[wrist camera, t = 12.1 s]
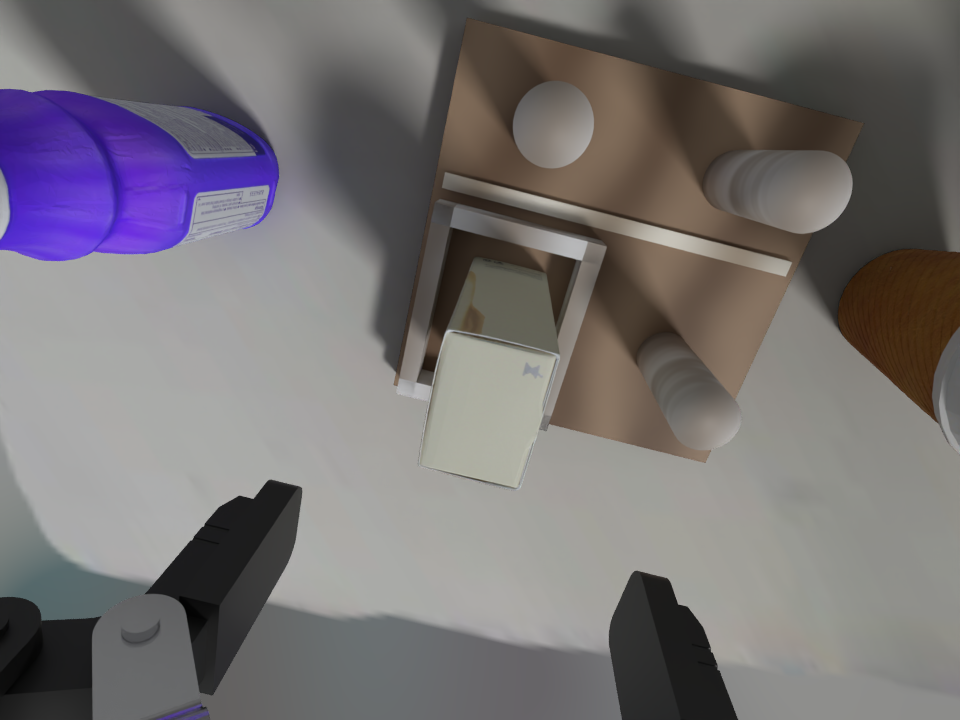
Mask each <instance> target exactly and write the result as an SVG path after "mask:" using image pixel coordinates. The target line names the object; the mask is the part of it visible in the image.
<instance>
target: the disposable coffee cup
mask: <svg viewBox="0 0 960 720" xmlns="http://www.w3.org/2000/svg"><path fill="white" fill-rule="evenodd" d="M838 321H839V326H840V329H841V332H842V334H843V336H844V337H845V338H846V340H847V341H848V342H849V343H850V344H851V345H852V346H853V347H854V348H856V349H857V350H858V351H859V352H860V353H861V354H862V355H863V356H864V357H865V358H867V359H868V360H869V361H870V362H871V363H872V364H873V365H874V366H875V367H876V368H878V369H879V370H880V371H881V372H882V373H883V374H884V375H885V376H886V377H888V378H889V379H890V380H891V381H892V382H893V383H894V384H895V385H896V386H897V387H898V388H899V389H900V390H901V391H902V392H904V393H905V394H906V395H907V396H908V397H909V398H910V399H911V400H912V401H913V402H914V403H915V404H917V405H918V406H919V407H920V408H921V409H922V410H923V411H924V412H926V413H927V414H928V415H929V416H930V417H931V418H932V419H934V420H935V421H936V422H937V423H938V424H939V425H940V428H941V430H942V432H943V434H944V436H945V438H946V440H947V442H948V443H949V444H950V445H951V446H952V447H953V449H954V450H955V451H956V452H957V453H958V454H959V455H960V252H947V251H935V250H922V249H902V250H897V251H893V252H890V253H887V254H884V255H882V256H880V257H878V258H876V259H874V260H872V261H871V262H869V263H868V264H867V265H865V266H864V267H863V268H862V269H860V270H859V271H858V272H857V274H856V275H855V276H854V277H853V278H852V279H851V280H850V282H849V283H848V285H847V286H846V288H845V290H844V292H843V295H842V297H841V299H840V304H839V309H838Z"/></svg>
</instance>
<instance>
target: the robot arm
mask: <svg viewBox="0 0 960 720" xmlns="http://www.w3.org/2000/svg"><path fill="white" fill-rule="evenodd" d="M301 498H302V488H301V487H299V486H295V485H291V484H287V483H283V482H279V481H275V480H268V481H267V482H266V484H265V485H264V486H263V487H262V489H261V490H260V491H259V493H258V494H257V495H256V496H255V498H254V499H251V498H247V497H243V496H238V497H236V498H234V499H233V500H231V501H229V502H227V503H226V504H224V505H222V506H220V507H219V508H218V509H217V510H216V511H215V512H214V514H213V515H212V516H211V517H210V518H209V519H208V521H207V522H206V523H205V526H204V527H202V528H201V529H200V530H199V531H198V532H197V534H196V535H195V536H194V538H193V540H192V541H190V542H189V543H188V544H187V545H186V547H185V548H184V549H183V550H182V551H181V552H180V554H179V555H178V556H177V557H176V558H175V560H174V561H173V562H172V563H171V564H170V565H169V567H168V568H167V569H166V570H165V571H164V572H163V574H162V575H161V576H160V577H159V578H158V580H157V581H156V582H155V583H154V584H153V585H152V587H151V588H150V589H149V590H148V591H147V592H146V593H145V594H144V595H139V596H135V597H132V598H129V599H127V600H124V601H122V602H120V603H118V604H117V605H115V606H114V607H112V608H111V609H109V610H108V611H107V612H106V613H105V614H104V615H103V616H101V617H96V618H88V619H67V620H46V621H41V613H40V610H39V609H38V607H37V606H36V605H35V604H34V603H33V602H31V601H29V600H26V599H22V598H16V597H2V598H0V720H210V716H209V713H208V710H207V708H206V707H202V703H201V699H200V693H205V694H209V695H213V694H214V692H215V690H216V689H217V687H218V685H219V684H220V682H221V680H222V678H223V677H224V675H225V673H226V671H227V669H228V668H229V666H230V664H231V662H232V661H233V659H234V657H235V655H236V654H237V652H238V650H239V648H240V646H241V645H242V643H243V641H244V639H245V638H246V636H247V634H248V632H249V631H250V629H251V627H252V625H253V624H254V622H255V620H256V618H257V617H258V615H259V613H260V611H261V610H262V608H263V606H264V604H265V603H266V601H267V599H268V597H269V596H270V594H271V592H272V590H273V588H274V587H275V585H276V583H277V581H278V580H279V578H280V576H281V574H282V573H283V571H284V569H285V567H286V565H287V563H288V561H289V559H290V557H291V554H292V551H293V548H294V544H295V540H296V534H297V527H298V520H299V512H300V505H301ZM609 647H610V653H611V659H612V664H613V670H614V676H615V682H616V687H617V693H618V699H619V704H620V710H621V715H622V720H738V719H737V716H736V713H735V711H734V708H733V705H732V703H731V700H730V697H729V695H728V692H727V690H726V687H725V684H724V682H723V679H722V676H721V673H720V671H719V670H717V667H718V666H717V663H716V660H715V658H714V655H713V653H711V647H710V644H709V642H708V639H707V636H706V634H705V631H704V628H703V627H702V625H701V624H700V623H699V621H698V620H697V619H696V617H695V616H694V615H693V613H692V612H691V611H690V609H689V608H688V607H686V606H682V605H678V603H677V600H676V597H675V594H674V591H673V588H672V585H671V583H670V581H669V580H668V579H667V578H664V577H660V576H656V575H652V574H648V573H644V572H640V571H634V572H633V573H632V575H631V577H630V579H629V581H628V583H627V585H626V588H625V590H624V592H623V594H622V597H621V599H620V601H619V603H618V605H617V608H616V610H615V612H614V614H613V617H612V620H611V624H610V630H609ZM199 692H200V693H199Z"/></svg>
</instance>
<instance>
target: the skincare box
mask: <svg viewBox="0 0 960 720" xmlns="http://www.w3.org/2000/svg"><path fill="white" fill-rule="evenodd" d="M559 360H560V352H559V345H558V340H557V333H556V328H555V322H554V316H553V310H552V304H551V298H550V293H549V286H548V280H547V275H546V274H545V273H543V272H540V271H536V270H532V269H529V268H525V267H521V266H518V265H514V264H510V263H506V262H501V261H497V260H492V259H487V258H482V257H475V258H474V259H473V262H472V264H471V267H470V270H469V272H468V275H467V278H466V280H465V283H464V286H463V288H462V291H461V293H460V296H459V299H458V302H457V304H456V307H455V309H454V312H453V314H452V317H451V319H450V322H449V324H448V327H447V329H446V331H445V333H444V337H443V341H442V344H441V348H440V352H439V355H438V359H437V363H436V367H435V372H434V376H433V381H432V386H431V390H430V395H429V401H428V406H427V411H426V416H425V422H424V428H423V434H422V440H421V446H420V453H419V459H418V466H419V467H421V468H425V469H429V470H433V471H437V472H440V473H444V474H448V475H452V476H455V477H459V478H462V479H466V480H471V481H475V482H479V483H483V484H486V485H490V486H495V487H499V488H503V489H507V490H511V491H516V490H518V489H520V488H521V486H522V482H523V479H524V476H525V473H526V470H527V467H528V463H529V460H530V457H531V454H532V451H533V447H534V444H535V441H536V438H537V434H538V431H539V428H540V424H541V421H542V418H543V414H544V411H545V407H546V404H547V400H548V397H549V394H550V390H551V387H552V384H553V380H554V377H555V373H556V370H557V366H558V363H559Z"/></svg>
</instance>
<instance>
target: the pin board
mask: <svg viewBox="0 0 960 720" xmlns="http://www.w3.org/2000/svg"><path fill="white" fill-rule="evenodd" d="M863 125H864V123H861V122H858V121H854V120H850V119H846V118H843V117H839V116H835V115H831V114H827V113H824V112H820V111H816V110H812V109H809V108H805V107H801V106H797V105H794V104H790V103H786V102H782V101H779V100H775V99H771V98H767V97H764V96H760V95H756V94H752V93H749V92H745V91H741V90H737V89H733V88H730V87H726V86H722V85H718V84H715V83H711V82H707V81H703V80H700V79H696V78H692V77H688V76H685V75H681V74H677V73H673V72H670V71H666V70H662V69H658V68H655V67H651V66H647V65H643V64H640V63H636V62H632V61H628V60H624V59H621V58H617V57H613V56H609V55H606V54H602V53H598V52H594V51H591V50H587V49H583V48H579V47H576V46H572V45H568V44H564V43H561V42H557V41H553V40H549V39H546V38H542V37H538V36H534V35H530V34H527V33H523V32H519V31H515V30H512V29H508V28H504V27H500V26H497V25H493V24H489V23H485V22H482V21H478V20H474V19H470V18H467V20H466V25H465V30H464V35H463V40H462V45H461V50H460V55H459V60H458V65H457V70H456V75H455V80H454V85H453V90H452V95H451V100H450V105H449V110H448V115H447V120H446V125H445V130H444V135H443V140H442V145H441V150H440V155H439V160H438V165H437V170H436V176H435V181H434V186H433V191H432V196H431V201H430V206H429V211H428V216H427V221H426V226H425V231H424V236H423V241H422V246H421V251H420V256H419V261H418V266H417V271H416V276H415V281H414V286H413V291H412V296H411V301H410V306H409V311H408V316H407V321H406V326H405V331H404V336H403V341H402V346H401V351H400V356H399V361H398V366H397V371H396V376H395V381H394V385H395V386H398V387H397V391H396V394H400V395H404V396H408V397H412V398H416V399H420V400H424V401H429V395H430V390H431V386H432V381H433V376H434V372H435V367H436V363H437V359H438V355H439V352H440V348H441V344H442V341H443V337H444V333H445V331H446V329H447V327H448V324H449V322H450V319H451V317H452V314H453V312H454V309H455V307H456V304H457V302H458V299H459V296H460V293H461V291H462V288H463V286H464V283H465V280H466V278H467V275H468V272H469V270H470V267H471V264H472V262H473V259H474V258H475V257H482V258H487V259H492V260H497V261H501V262H506V263H510V264H514V265H518V266H521V267H525V268H529V269H532V270H536V271H540V272H543V273H545V274H546V275H547V280H548V286H549V293H550V298H551V304H552V310H553V316H554V322H555V328H556V333H557V340H558V345H559V352H560V360H559V363H558V366H557V370H556V373H555V377H554V380H553V384H552V387H551V390H550V394H549V397H548V400H547V404H546V407H545V411H544V414H543V418H542V421H541V424H540V428H539V429H540V430H544V431H547V428H548V425H549V424H551V425H555V426H560V427H564V428H568V429H572V430H576V431H580V432H584V433H588V434H592V435H596V436H600V437H604V438H608V439H612V440H616V441H620V442H624V443H628V444H632V445H636V446H640V447H644V448H648V449H652V450H656V451H660V452H664V453H668V454H672V455H676V456H680V457H684V458H688V459H692V460H696V461H700V462H704V463H706V460H707V458H708V456H709V454H710V452H711V450H712V449H716V448H718V447H721V446H723V445H724V444H726V443H728V442H729V441H730V440H731V439H732V438H733V437H734V436H735V435H736V433H737V432H738V430H739V428H740V425H741V421H742V413H741V409H740V407H739V405H738V403H737V402H736V401H735V398H736V396H737V394H738V392H739V390H740V388H741V386H742V384H743V381H744V379H745V377H746V375H747V373H748V371H749V369H750V366H751V364H752V362H753V360H754V358H755V356H756V354H757V351H758V349H759V347H760V345H761V343H762V341H763V339H764V337H765V334H766V332H767V330H768V328H769V326H770V324H771V322H772V319H773V317H774V315H775V313H776V311H777V309H778V307H779V304H780V302H781V300H782V298H783V296H784V294H785V292H786V289H787V287H788V285H789V283H790V281H791V279H792V277H793V275H794V272H795V270H796V268H797V266H798V264H799V262H800V260H801V257H802V255H803V253H804V251H805V249H806V247H807V245H808V242H809V240H810V238H811V236H812V234H813V232H815V231H818V230H820V229H823V228H825V227H826V226H828V225H829V224H831V223H832V222H833V221H835V220H836V219H837V218H838V217H839V216H840V214H841V213H842V212H843V211H844V209H845V208H846V206H847V204H848V202H849V199H850V197H851V193H852V185H853V181H852V175H851V171H850V169H849V167H848V165H847V164H846V161H847V159H848V157H849V155H850V153H851V151H852V148H853V146H854V144H855V142H856V140H857V138H858V136H859V133H860V131H861V129H862V127H863Z"/></svg>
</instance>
